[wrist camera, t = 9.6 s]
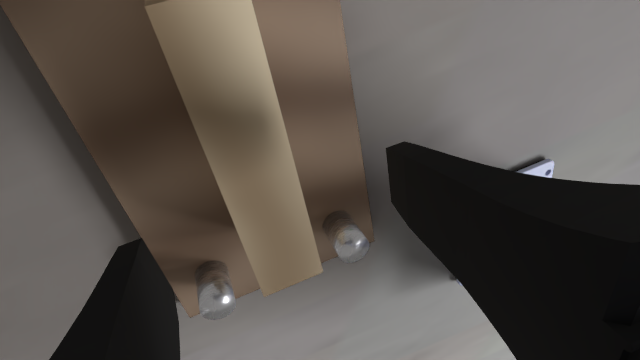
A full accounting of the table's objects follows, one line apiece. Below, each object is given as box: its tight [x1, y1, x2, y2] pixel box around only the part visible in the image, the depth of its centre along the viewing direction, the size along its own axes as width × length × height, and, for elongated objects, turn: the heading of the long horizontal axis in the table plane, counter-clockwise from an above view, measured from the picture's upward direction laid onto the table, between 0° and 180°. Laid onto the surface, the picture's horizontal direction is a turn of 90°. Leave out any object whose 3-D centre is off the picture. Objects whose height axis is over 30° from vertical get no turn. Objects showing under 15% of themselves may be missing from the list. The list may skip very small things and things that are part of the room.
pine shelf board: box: [144, 0, 323, 297], centre depth 16 cm, size 3×12×5 cm, turn 11°
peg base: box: [0, 0, 374, 320], centre depth 17 cm, size 22×12×4 cm, turn 11°
